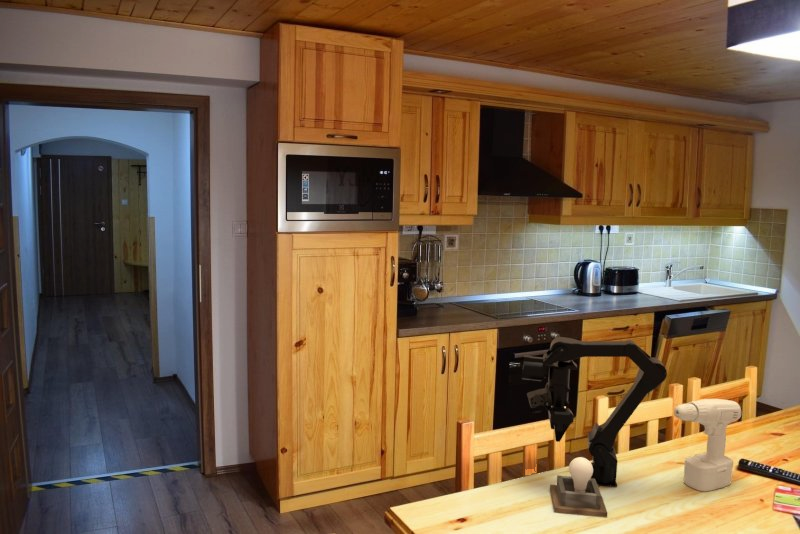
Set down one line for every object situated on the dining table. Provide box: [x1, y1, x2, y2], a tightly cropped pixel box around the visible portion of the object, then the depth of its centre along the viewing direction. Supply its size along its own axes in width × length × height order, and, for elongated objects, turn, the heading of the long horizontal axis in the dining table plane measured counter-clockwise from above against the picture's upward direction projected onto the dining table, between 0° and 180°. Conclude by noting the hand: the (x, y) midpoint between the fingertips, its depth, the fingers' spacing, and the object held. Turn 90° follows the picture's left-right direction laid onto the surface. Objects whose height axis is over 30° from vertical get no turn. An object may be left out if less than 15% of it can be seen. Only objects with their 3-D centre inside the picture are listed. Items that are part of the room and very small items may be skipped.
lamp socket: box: [549, 474, 608, 518], centre depth 169 cm, size 13×13×5 cm
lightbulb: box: [568, 456, 593, 493], centre depth 169 cm, size 6×6×11 cm
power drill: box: [673, 398, 742, 492], centre depth 180 cm, size 8×24×25 cm, turn 116°
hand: (555, 435), depth 184 cm, fingers open, 9 cm apart
